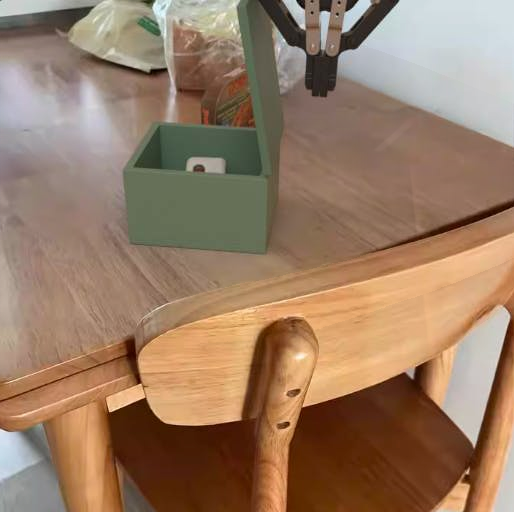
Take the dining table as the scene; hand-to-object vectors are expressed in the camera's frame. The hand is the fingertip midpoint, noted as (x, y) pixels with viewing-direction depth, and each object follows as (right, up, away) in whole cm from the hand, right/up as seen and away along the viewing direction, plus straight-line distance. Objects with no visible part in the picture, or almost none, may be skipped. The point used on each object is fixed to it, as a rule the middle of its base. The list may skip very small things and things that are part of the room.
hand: (319, 94), depth 68 cm
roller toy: (-11, -9, +9) cm, 17 cm away
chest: (-11, -10, +9) cm, 17 cm away
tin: (-8, +4, +27) cm, 29 cm away
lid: (-6, +2, 0) cm, 6 cm away
